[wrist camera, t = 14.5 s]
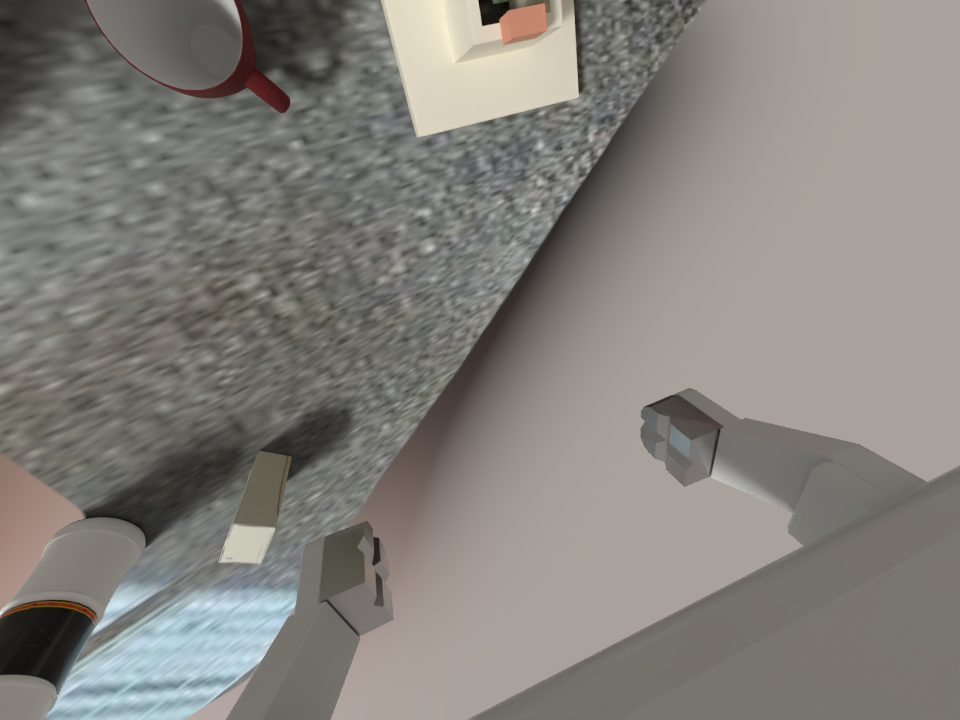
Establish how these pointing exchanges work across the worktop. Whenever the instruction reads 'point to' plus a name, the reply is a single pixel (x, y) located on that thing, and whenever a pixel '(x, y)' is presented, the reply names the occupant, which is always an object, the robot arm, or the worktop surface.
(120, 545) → the vodka
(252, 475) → the skincare box
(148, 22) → the mug
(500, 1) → the column
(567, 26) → the stand
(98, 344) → the worktop surface
